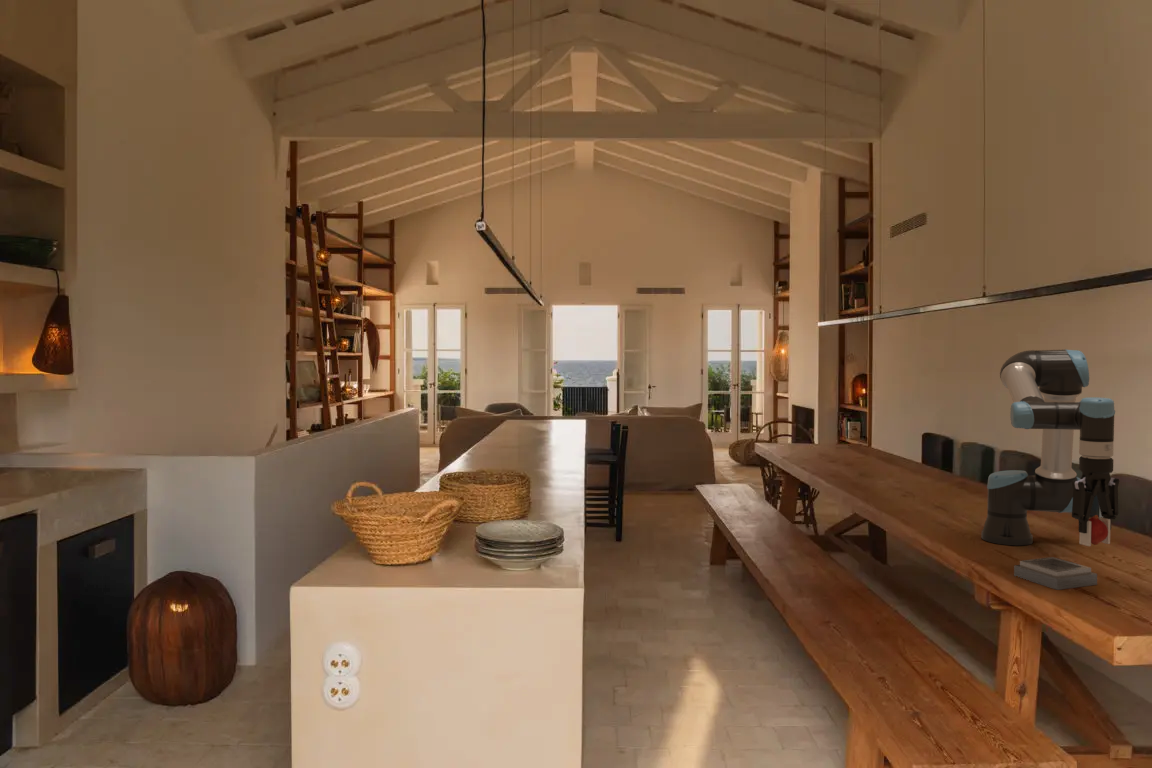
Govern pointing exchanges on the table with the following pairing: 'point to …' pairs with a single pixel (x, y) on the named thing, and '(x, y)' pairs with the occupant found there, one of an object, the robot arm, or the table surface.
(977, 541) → the table surface
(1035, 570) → the silver shallow square tray
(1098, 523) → the onion
